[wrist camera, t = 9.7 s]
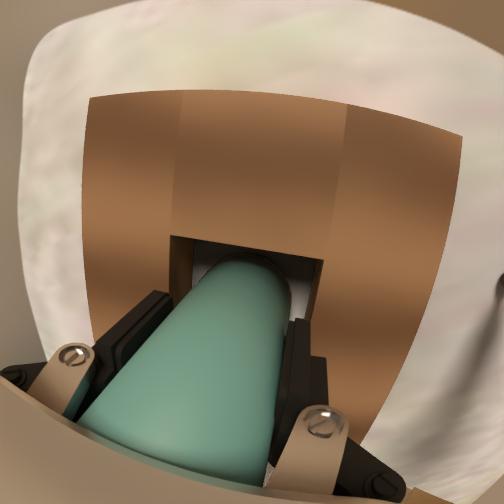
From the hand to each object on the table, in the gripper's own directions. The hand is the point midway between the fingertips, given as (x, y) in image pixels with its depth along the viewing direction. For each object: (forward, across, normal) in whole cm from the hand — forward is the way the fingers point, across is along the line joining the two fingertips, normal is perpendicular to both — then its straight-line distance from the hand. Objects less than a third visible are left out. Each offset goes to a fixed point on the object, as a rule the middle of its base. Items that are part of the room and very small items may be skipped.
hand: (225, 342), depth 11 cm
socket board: (+5, 0, 0) cm, 5 cm away
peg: (+4, 0, 0) cm, 4 cm away
